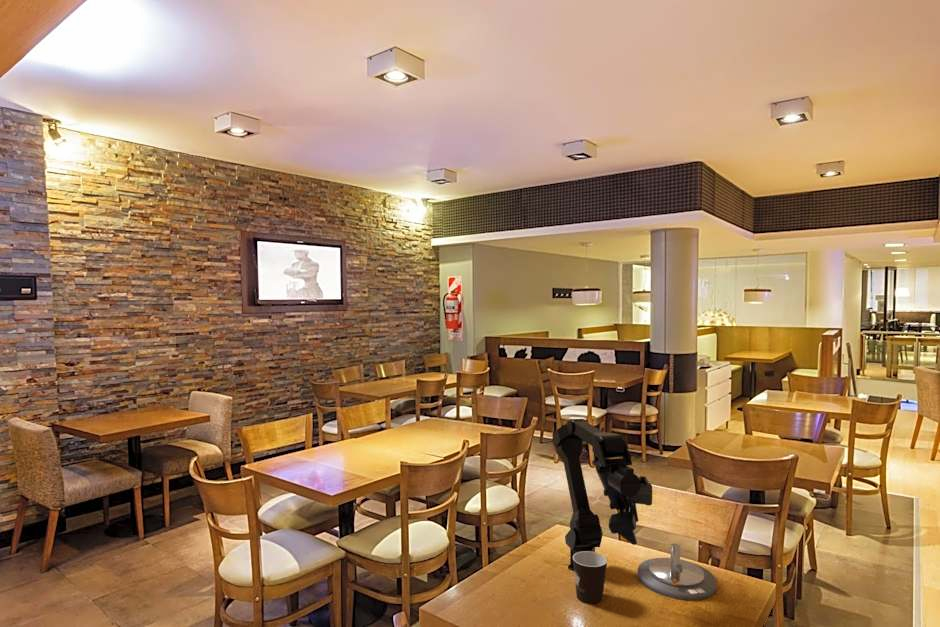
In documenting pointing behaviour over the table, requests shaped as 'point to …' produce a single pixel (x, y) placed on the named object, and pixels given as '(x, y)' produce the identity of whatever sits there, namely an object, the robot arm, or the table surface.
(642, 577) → the dial base
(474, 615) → the table surface
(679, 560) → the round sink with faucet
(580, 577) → the coffee mug
